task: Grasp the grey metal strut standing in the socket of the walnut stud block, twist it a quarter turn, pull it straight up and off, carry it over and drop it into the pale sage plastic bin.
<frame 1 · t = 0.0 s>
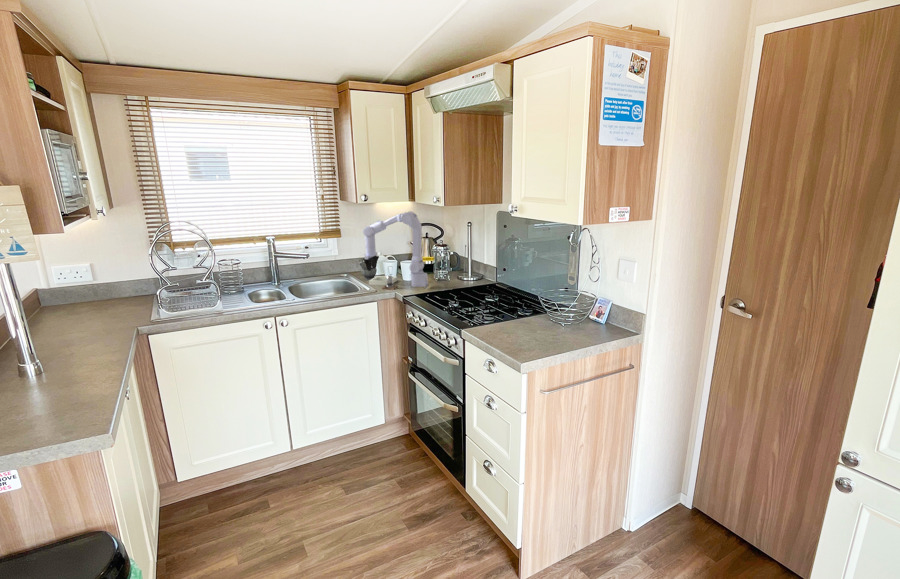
hand: (371, 269, 262), 10 cm above the counter, tool pointing down, fingers open, 7 cm apart
strut: (389, 288, 253), point 1 cm above the counter, touching stud block
bin: (383, 284, 268), on the counter
stud block: (389, 290, 253), on the counter
mortar and pestle: (368, 279, 284), on the counter
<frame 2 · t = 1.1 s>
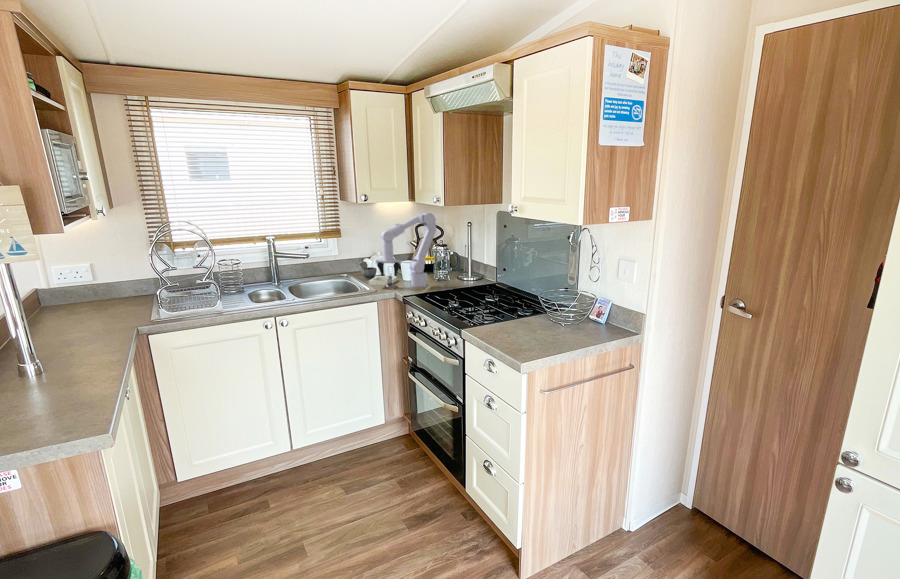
hand: (389, 275, 251), 8 cm above the counter, tool pointing down, fingers open, 7 cm apart
nothing on the counter moved.
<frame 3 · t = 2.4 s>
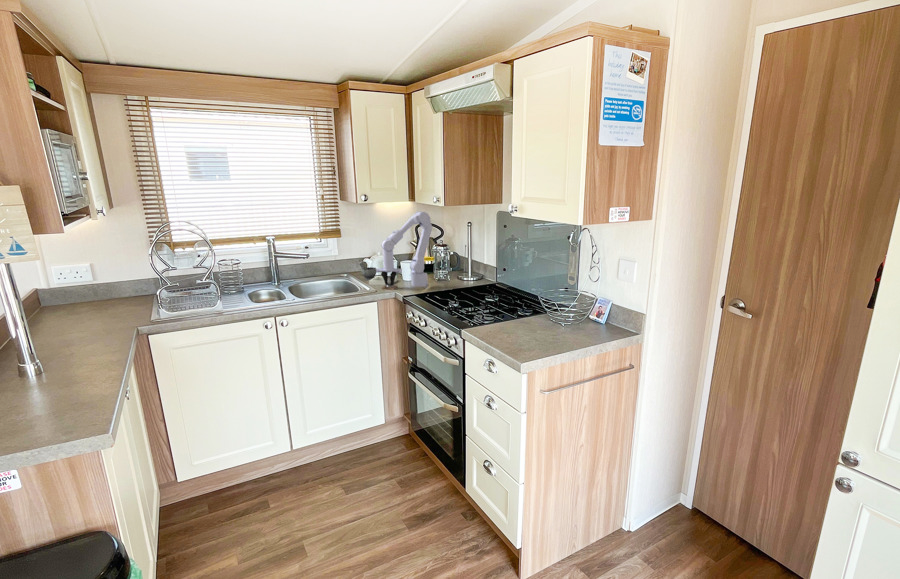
hand: (389, 284, 252), 3 cm above the counter, tool pointing down, fingers closed on strut, 3 cm apart
strut: (389, 288, 253), point 1 cm above the counter, touching gripper, stud block
everything else where it was.
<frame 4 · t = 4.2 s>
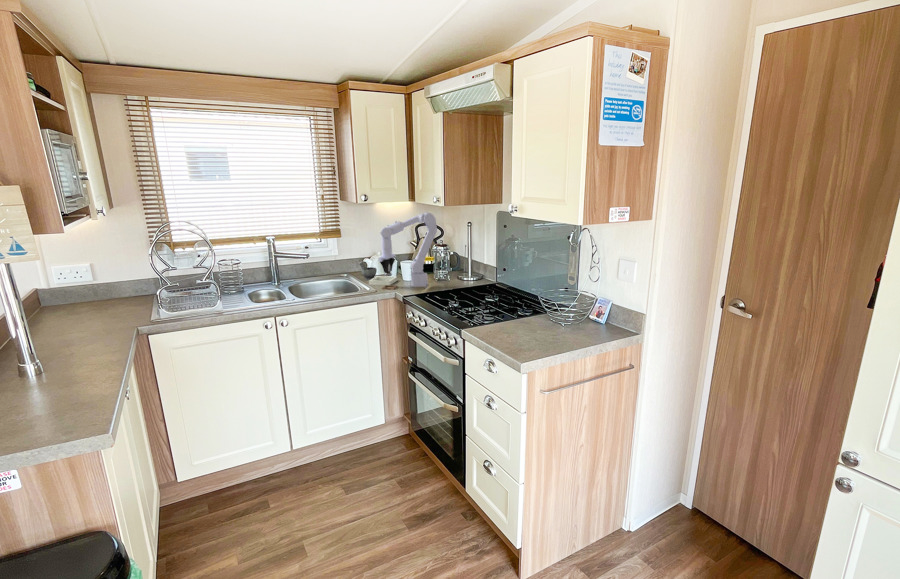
hand: (387, 272, 253), 10 cm above the counter, tool pointing down, fingers closed on strut, 3 cm apart
strut: (388, 275, 254), point 8 cm above the counter, touching gripper
everything else where it was.
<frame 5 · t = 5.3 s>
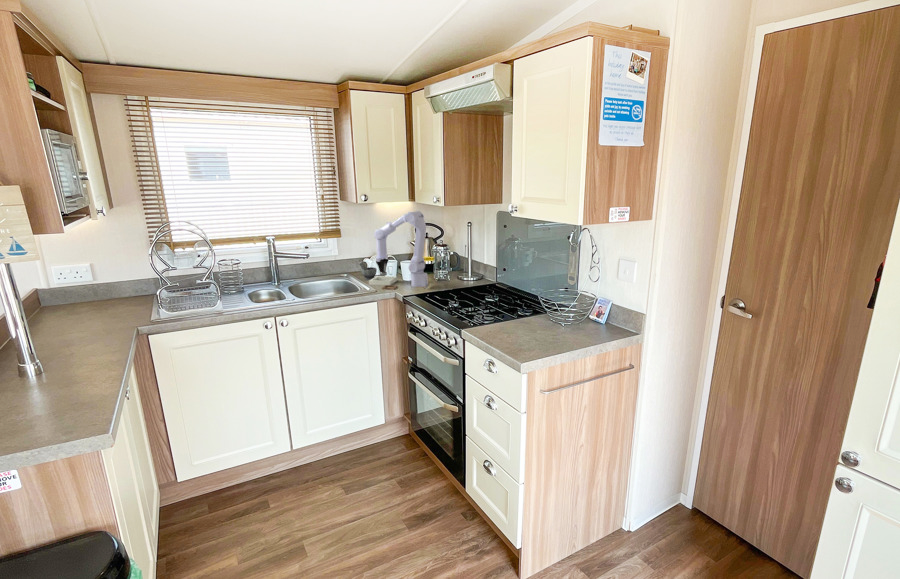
hand: (382, 271, 266), 8 cm above the counter, tool pointing down, fingers closed on strut, 3 cm apart
strut: (383, 274, 267), point 6 cm above the counter, touching gripper
everything else where it was.
when the fingers open (5 cm above the counter, at t = 6.1 s): strut drops 2 cm, resting on bin.
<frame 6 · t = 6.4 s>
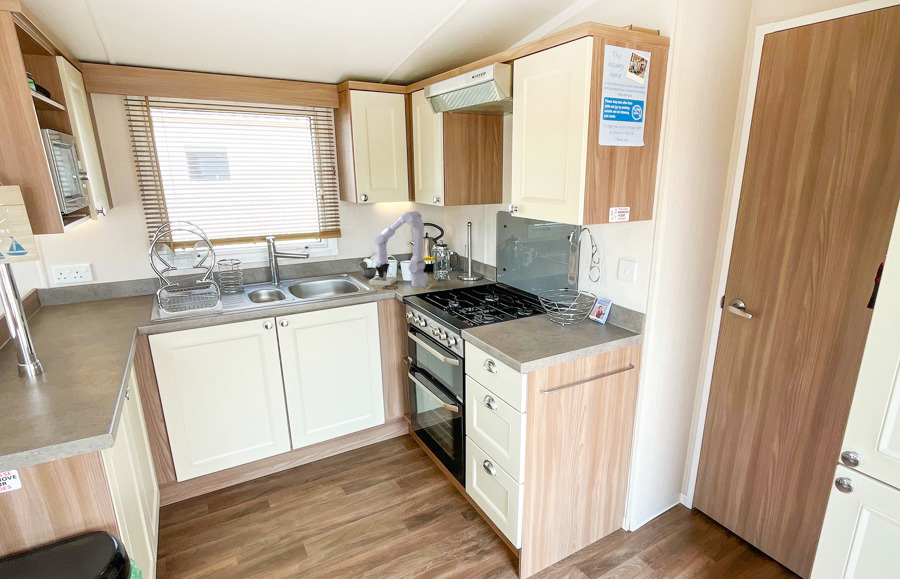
hand: (383, 276, 267), 5 cm above the counter, tool pointing down, fingers open, 5 cm apart
strut: (384, 283, 268), point 1 cm above the counter, touching bin
everything else where it was.
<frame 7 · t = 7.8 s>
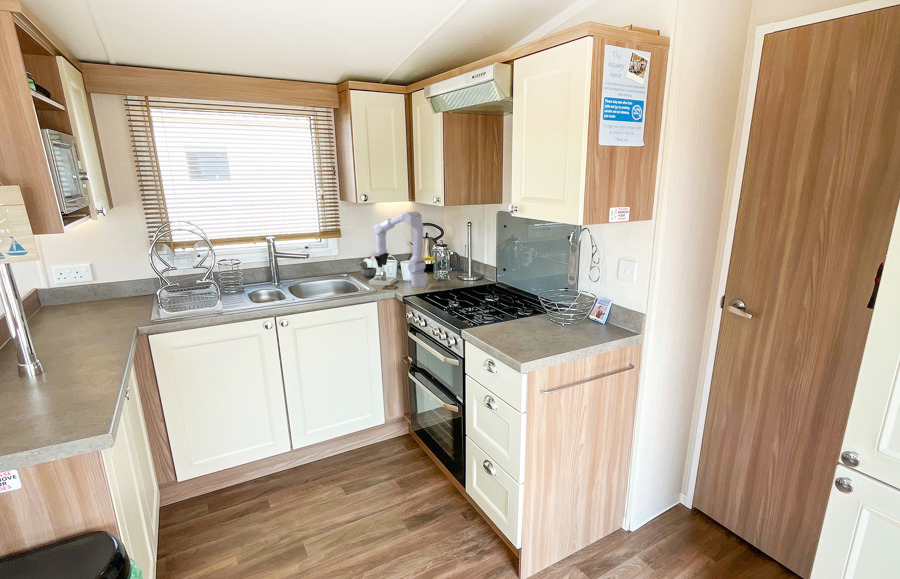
hand: (382, 266, 270), 10 cm above the counter, tool pointing down, fingers open, 7 cm apart
nothing on the counter moved.
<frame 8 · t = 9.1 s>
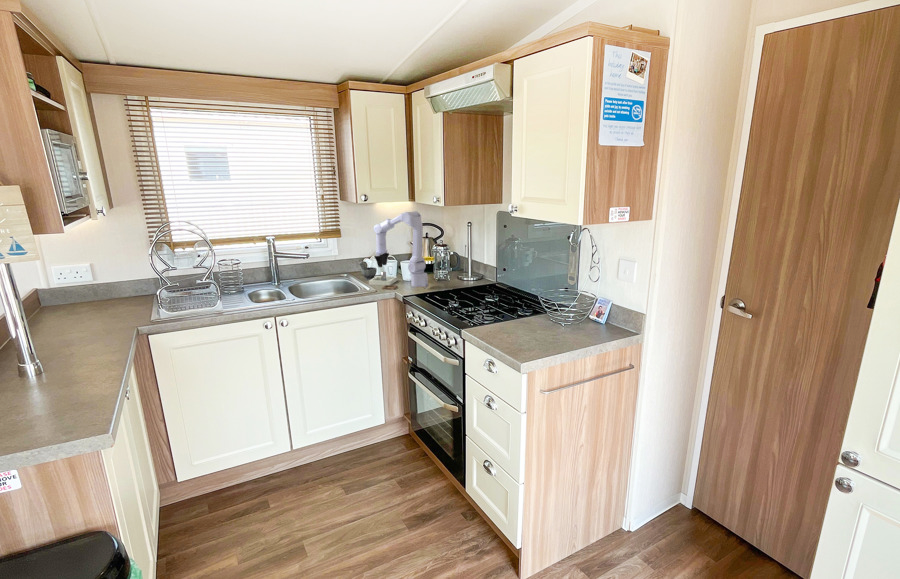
hand: (382, 266, 271), 10 cm above the counter, tool pointing down, fingers open, 7 cm apart
nothing on the counter moved.
at the end: strut inside the target area on the bin (0.3 cm from its centre), point 0.6 cm above the bin's base; the gripper is holding nothing; strut touching bin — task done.
